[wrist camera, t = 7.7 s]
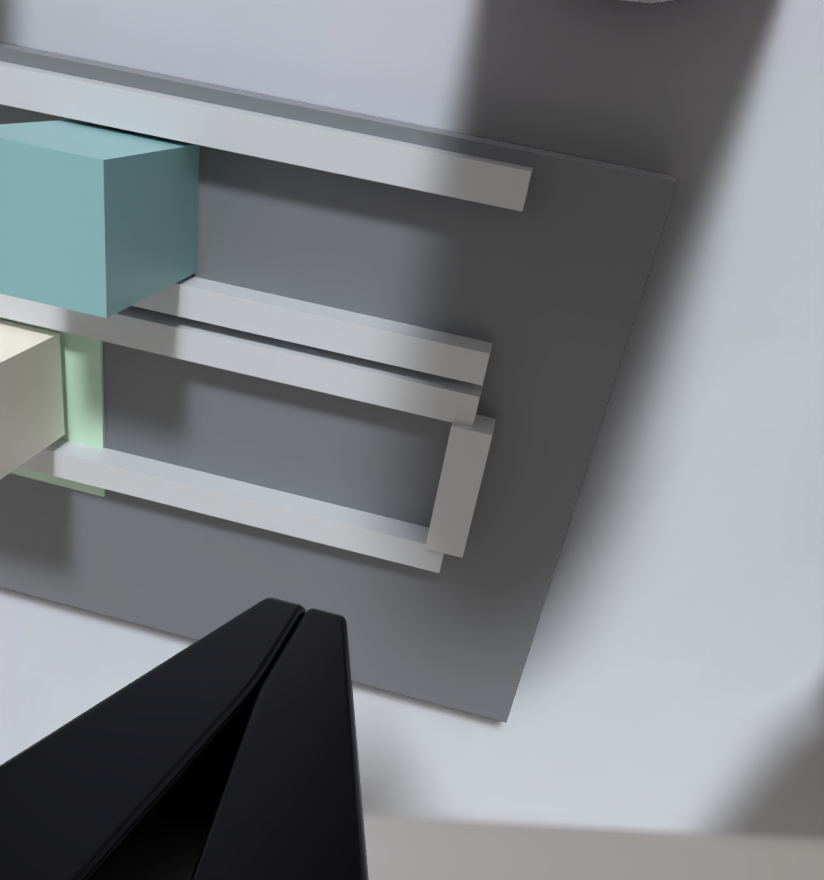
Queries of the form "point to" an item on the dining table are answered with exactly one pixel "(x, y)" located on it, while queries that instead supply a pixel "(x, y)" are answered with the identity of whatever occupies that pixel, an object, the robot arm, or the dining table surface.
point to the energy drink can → (647, 1)
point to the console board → (309, 363)
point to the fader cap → (28, 393)
